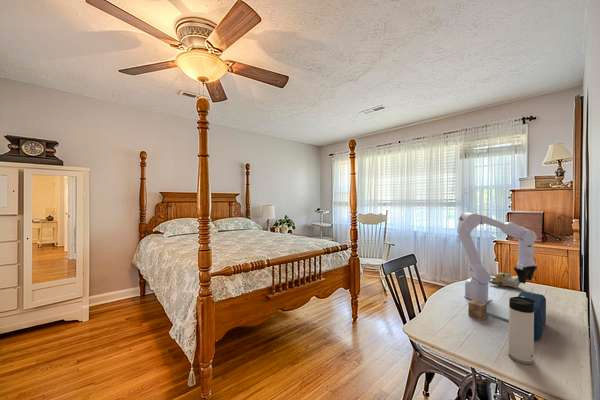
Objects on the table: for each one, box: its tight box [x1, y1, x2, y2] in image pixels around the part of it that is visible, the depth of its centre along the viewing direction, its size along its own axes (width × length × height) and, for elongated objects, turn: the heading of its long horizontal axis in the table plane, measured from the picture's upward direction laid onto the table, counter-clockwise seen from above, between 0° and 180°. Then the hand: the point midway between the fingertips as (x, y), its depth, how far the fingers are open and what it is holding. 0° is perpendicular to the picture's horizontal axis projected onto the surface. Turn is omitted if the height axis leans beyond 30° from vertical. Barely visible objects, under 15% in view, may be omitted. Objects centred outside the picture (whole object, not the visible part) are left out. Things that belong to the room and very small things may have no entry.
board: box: [487, 301, 509, 323], centre depth 118 cm, size 12×14×1 cm
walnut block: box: [467, 299, 488, 321], centre depth 115 cm, size 5×5×6 cm
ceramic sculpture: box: [488, 271, 521, 289], centre depth 150 cm, size 11×9×15 cm
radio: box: [517, 290, 547, 341], centre depth 104 cm, size 21×9×20 cm, turn 132°
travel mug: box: [508, 296, 535, 365], centre depth 86 cm, size 6×7×20 cm
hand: (525, 281), depth 128 cm, fingers open, 7 cm apart
